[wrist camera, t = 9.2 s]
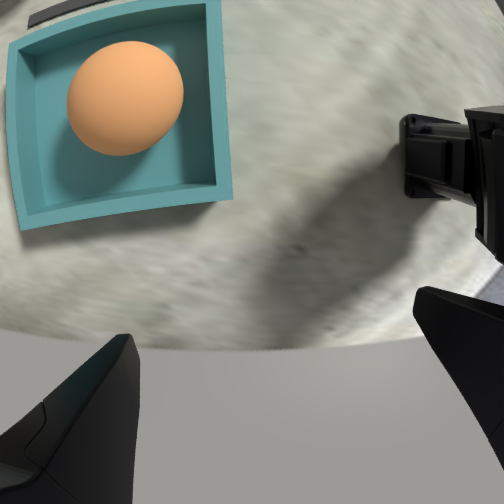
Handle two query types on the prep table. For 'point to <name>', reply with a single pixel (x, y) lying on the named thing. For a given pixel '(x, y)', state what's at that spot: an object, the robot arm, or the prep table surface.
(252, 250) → the prep table surface
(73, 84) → the ball
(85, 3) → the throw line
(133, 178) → the tray
